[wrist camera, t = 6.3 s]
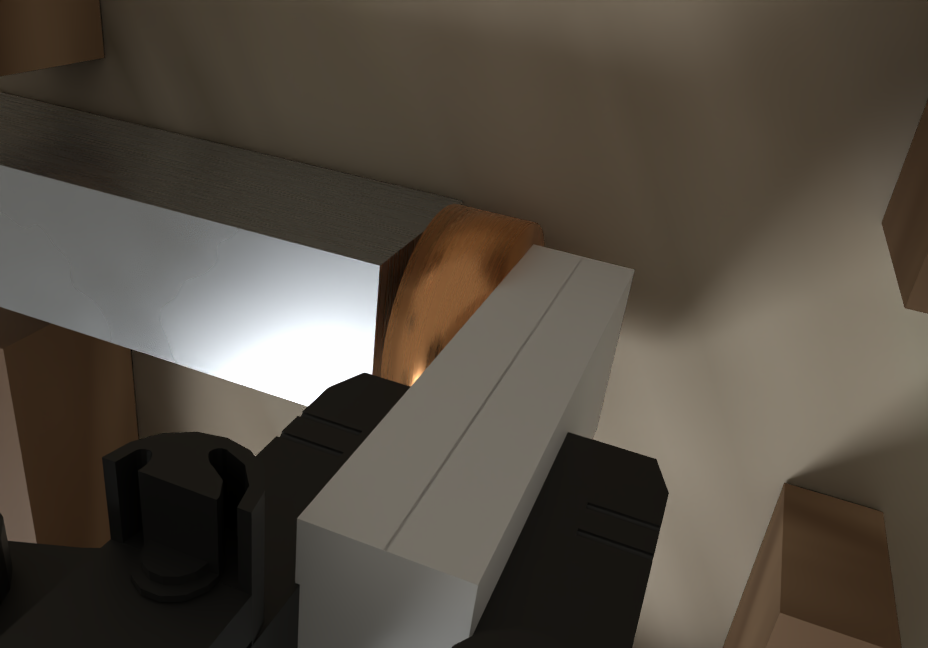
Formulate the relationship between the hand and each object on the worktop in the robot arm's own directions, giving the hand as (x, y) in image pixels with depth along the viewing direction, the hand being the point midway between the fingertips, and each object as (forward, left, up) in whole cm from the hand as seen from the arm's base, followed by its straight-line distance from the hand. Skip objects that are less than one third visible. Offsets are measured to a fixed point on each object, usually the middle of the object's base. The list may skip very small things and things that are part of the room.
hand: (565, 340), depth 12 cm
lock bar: (-10, 0, -1) cm, 10 cm away
